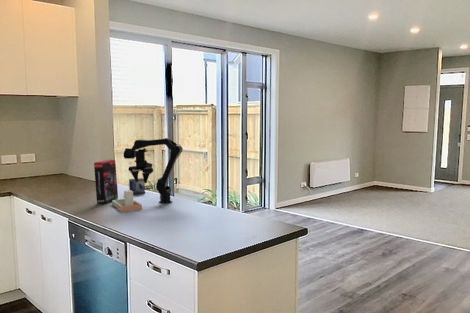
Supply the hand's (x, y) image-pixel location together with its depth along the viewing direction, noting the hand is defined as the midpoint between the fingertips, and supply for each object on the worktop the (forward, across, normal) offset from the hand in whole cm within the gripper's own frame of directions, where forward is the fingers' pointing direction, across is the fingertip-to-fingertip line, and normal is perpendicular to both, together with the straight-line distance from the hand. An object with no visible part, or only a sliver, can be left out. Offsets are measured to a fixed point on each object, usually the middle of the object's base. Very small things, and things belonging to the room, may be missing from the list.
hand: (141, 182), depth 261 cm
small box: (+13, +26, -16) cm, 33 cm away
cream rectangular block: (+13, -9, +17) cm, 23 cm away
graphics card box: (+13, +20, +13) cm, 27 cm away
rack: (+13, -4, +15) cm, 20 cm away
